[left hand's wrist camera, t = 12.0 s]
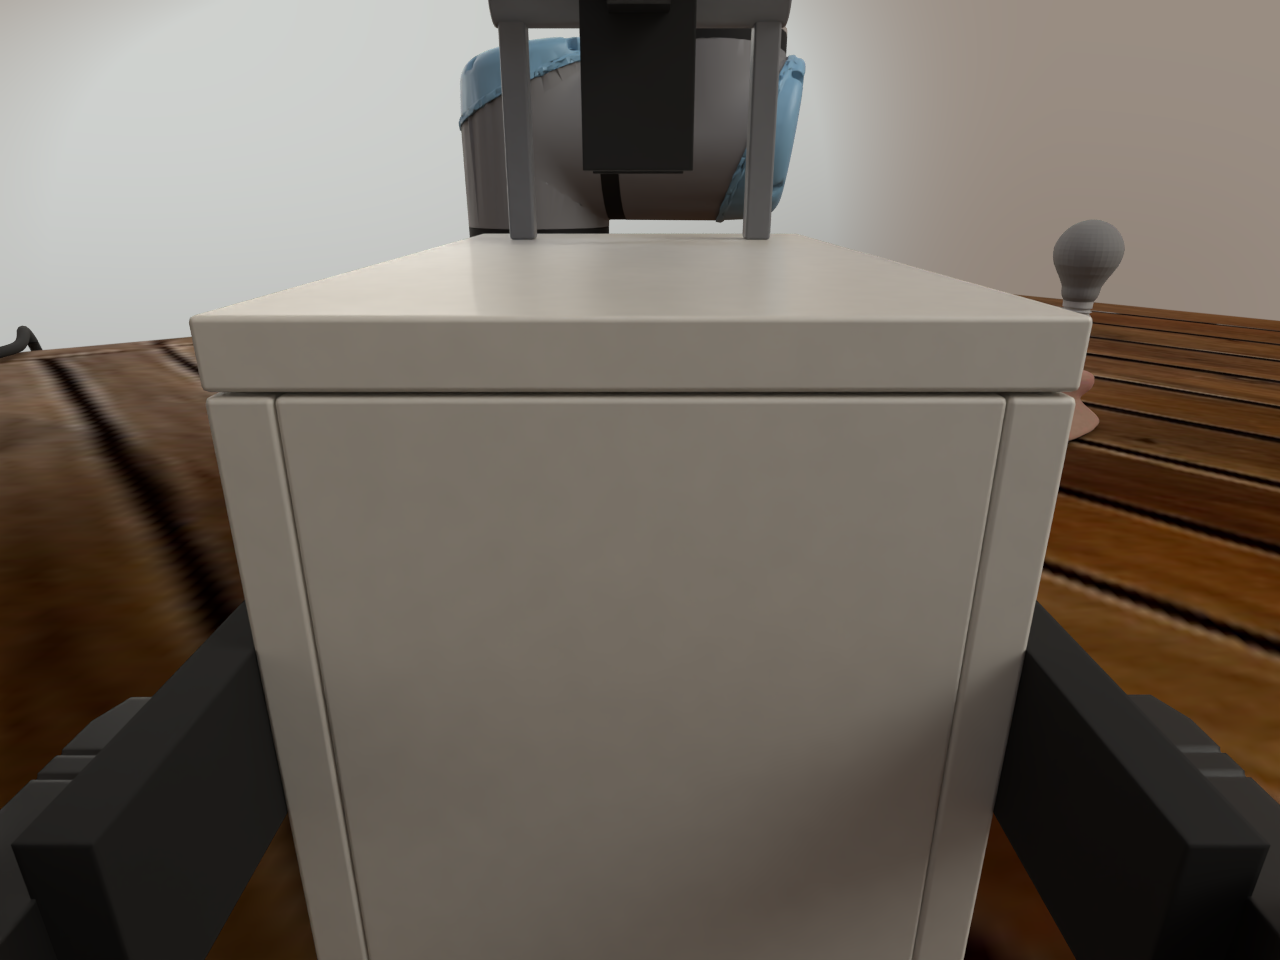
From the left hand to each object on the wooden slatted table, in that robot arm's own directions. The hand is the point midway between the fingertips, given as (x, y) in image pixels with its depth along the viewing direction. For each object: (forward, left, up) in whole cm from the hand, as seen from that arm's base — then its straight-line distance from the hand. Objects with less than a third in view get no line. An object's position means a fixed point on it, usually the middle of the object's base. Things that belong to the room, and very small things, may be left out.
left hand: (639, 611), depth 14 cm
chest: (-4, +3, -6) cm, 8 cm away
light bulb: (-22, +76, -6) cm, 80 cm away
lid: (-4, +4, +5) cm, 7 cm away
